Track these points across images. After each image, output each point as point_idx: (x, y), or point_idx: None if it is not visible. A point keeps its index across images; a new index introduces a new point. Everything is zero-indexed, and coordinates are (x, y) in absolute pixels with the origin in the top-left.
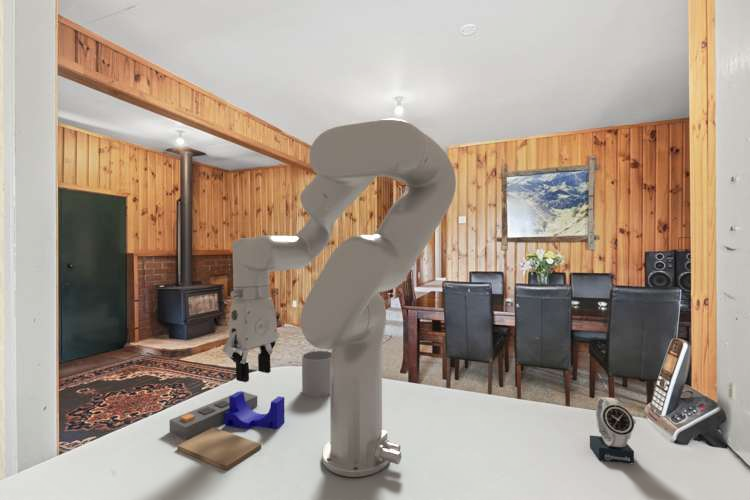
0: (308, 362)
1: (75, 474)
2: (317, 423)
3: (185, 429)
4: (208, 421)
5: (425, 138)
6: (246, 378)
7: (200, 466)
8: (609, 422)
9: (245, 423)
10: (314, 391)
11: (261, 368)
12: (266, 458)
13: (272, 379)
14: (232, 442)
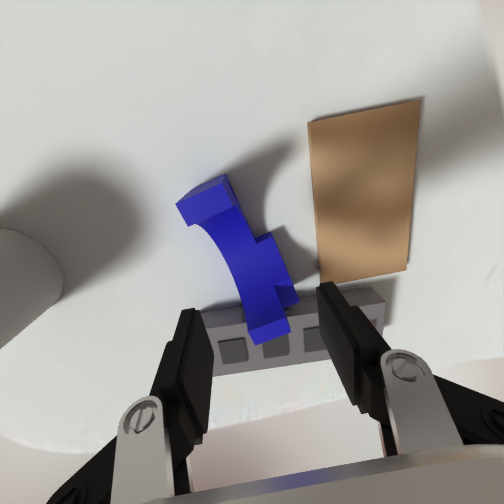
0: None
1: None
2: (118, 104)
3: (382, 300)
4: None
5: None
6: (337, 289)
7: (423, 170)
8: None
9: (275, 244)
10: (25, 256)
11: (208, 351)
12: (330, 62)
13: (89, 407)
14: (343, 191)
